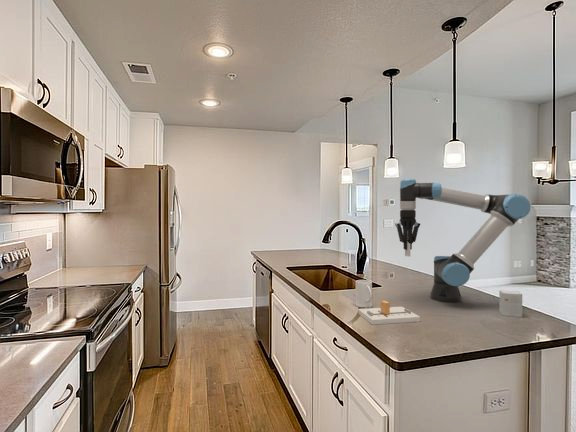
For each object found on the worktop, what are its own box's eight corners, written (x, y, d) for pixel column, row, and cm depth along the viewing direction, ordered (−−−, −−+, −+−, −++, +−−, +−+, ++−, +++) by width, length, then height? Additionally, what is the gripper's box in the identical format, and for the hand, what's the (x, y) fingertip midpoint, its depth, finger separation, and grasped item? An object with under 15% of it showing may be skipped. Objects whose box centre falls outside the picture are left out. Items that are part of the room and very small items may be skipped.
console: (401, 310, 167) (401, 304, 167) (420, 321, 152) (420, 314, 152) (357, 313, 163) (358, 306, 163) (372, 324, 148) (372, 317, 148)
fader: (385, 311, 158) (385, 300, 158) (389, 314, 154) (389, 302, 154) (380, 311, 158) (380, 300, 158) (384, 314, 154) (384, 303, 154)
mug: (377, 308, 171) (377, 284, 170) (361, 309, 169) (361, 285, 169) (368, 302, 182) (368, 279, 182) (352, 303, 181) (352, 280, 180)
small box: (518, 314, 162) (519, 291, 162) (522, 317, 156) (522, 294, 156) (499, 312, 164) (499, 290, 164) (501, 315, 159) (502, 292, 159)
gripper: (415, 209, 183) (415, 254, 184) (392, 209, 181) (392, 255, 182) (423, 209, 176) (423, 256, 177) (399, 209, 174) (399, 257, 174)
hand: (407, 255), depth 179 cm, fingers closed
